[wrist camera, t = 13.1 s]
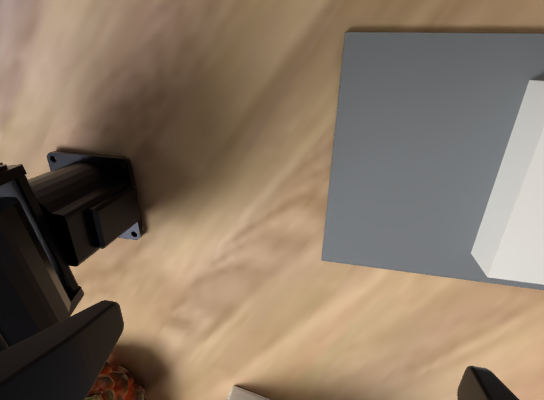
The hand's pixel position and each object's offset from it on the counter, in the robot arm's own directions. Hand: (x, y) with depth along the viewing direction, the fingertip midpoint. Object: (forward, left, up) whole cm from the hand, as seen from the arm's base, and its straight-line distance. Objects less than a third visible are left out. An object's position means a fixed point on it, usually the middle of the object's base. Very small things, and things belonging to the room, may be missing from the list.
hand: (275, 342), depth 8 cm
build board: (+11, +1, -13) cm, 17 cm away
